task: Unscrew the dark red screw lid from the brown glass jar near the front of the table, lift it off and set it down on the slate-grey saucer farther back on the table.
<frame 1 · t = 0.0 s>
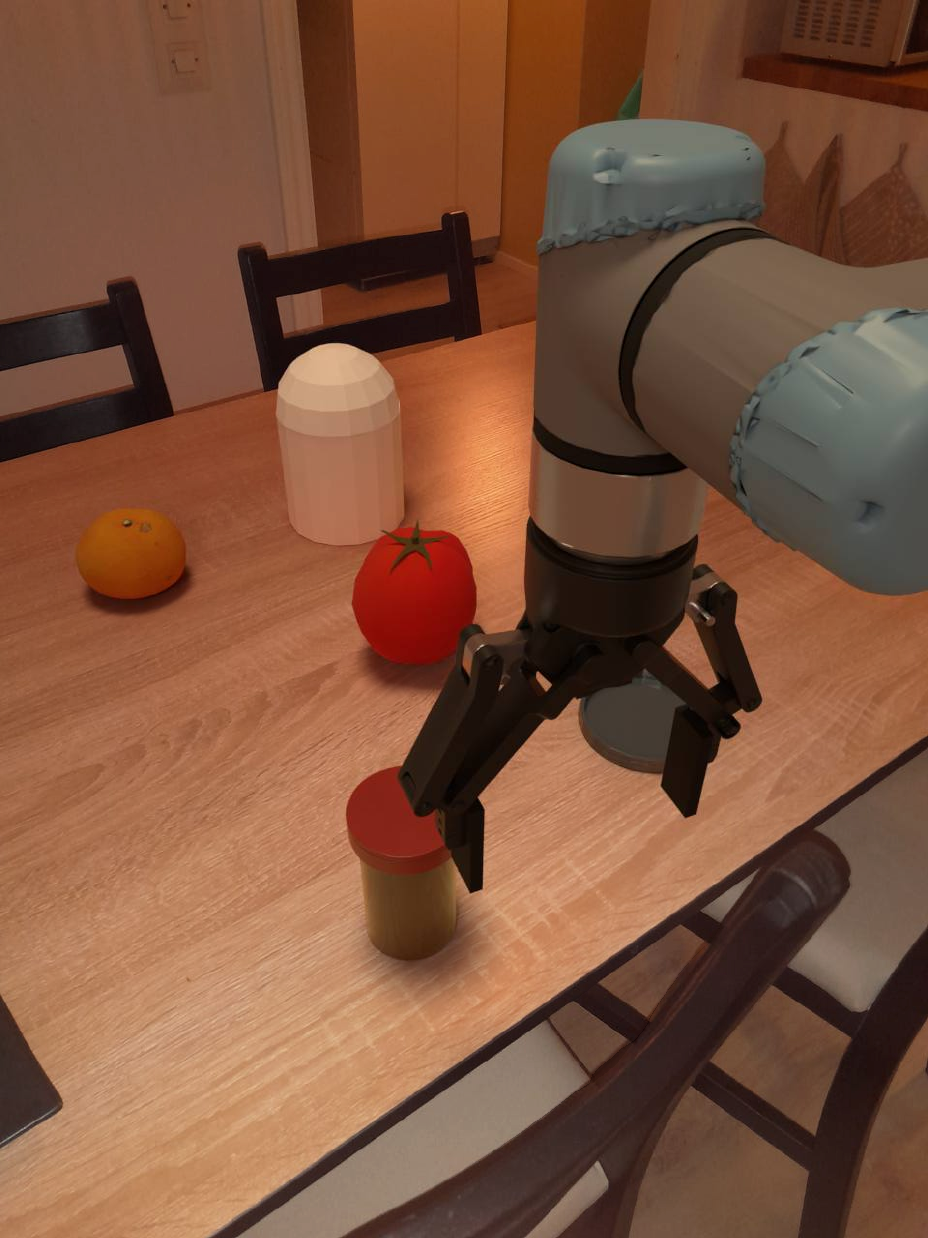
hand: (576, 835, 55), 16 cm above the table, tool pointing down, fingers open, 13 cm apart
saucer: (646, 722, 85), on the table
fruit: (140, 585, 101), on the table
jar: (411, 921, 69), on the table
lid: (405, 813, 62), point 12 cm above the table, screwed on, not yet turned
tomato: (418, 651, 93), on the table
container: (347, 515, 112), on the table
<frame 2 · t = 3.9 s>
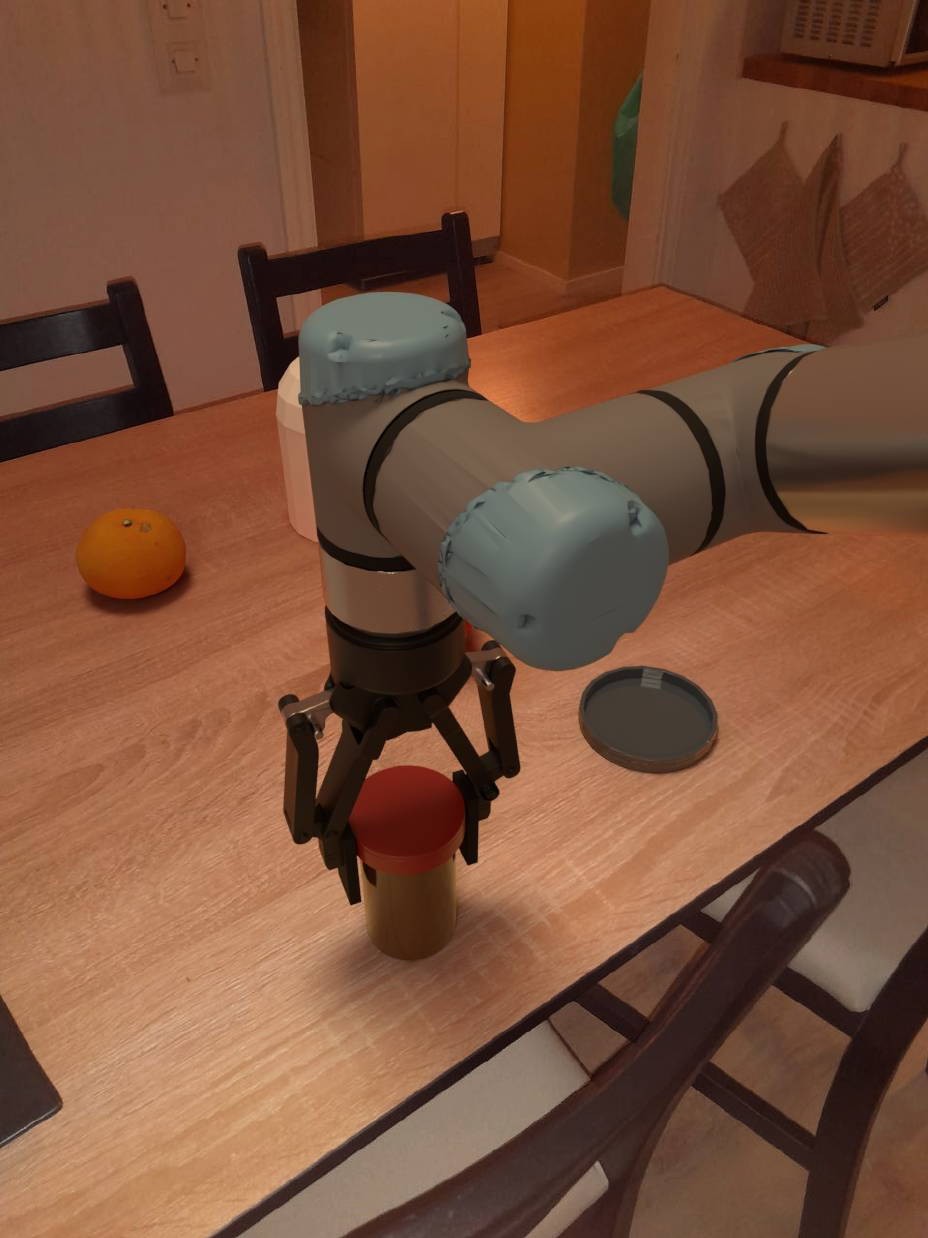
hand: (408, 868, 65), 6 cm above the table, tool pointing down, fingers closed on lid, 8 cm apart
lid: (405, 813, 62), point 12 cm above the table, screwed on, not yet turned, touching gripper
everything else where it was.
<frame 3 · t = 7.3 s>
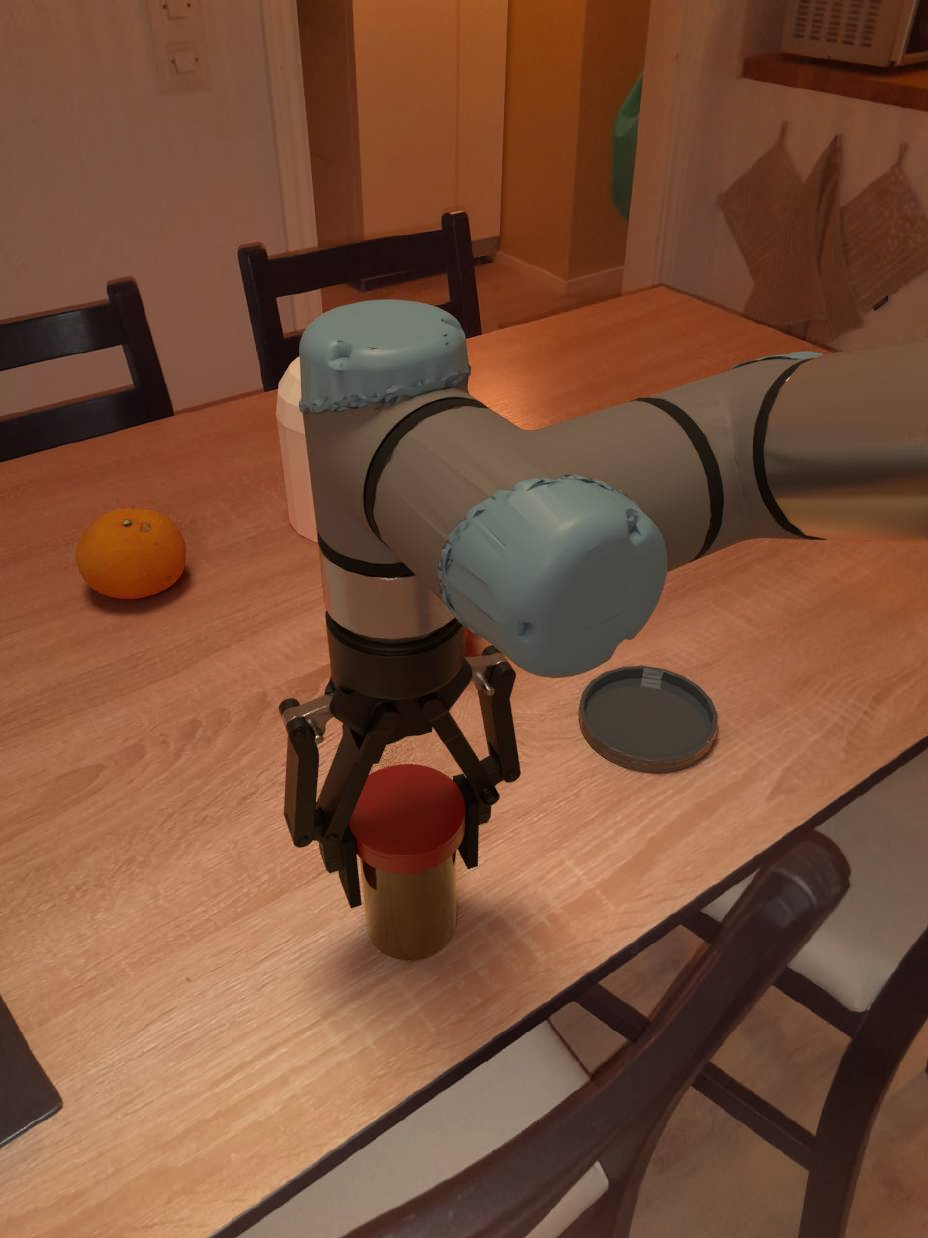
hand: (408, 871, 65), 6 cm above the table, tool pointing down, fingers closed on lid, 8 cm apart
lid: (405, 811, 62), point 12 cm above the table, turned 95° so far, risen 0.1 cm, still on its thread, touching gripper
everything else where it was.
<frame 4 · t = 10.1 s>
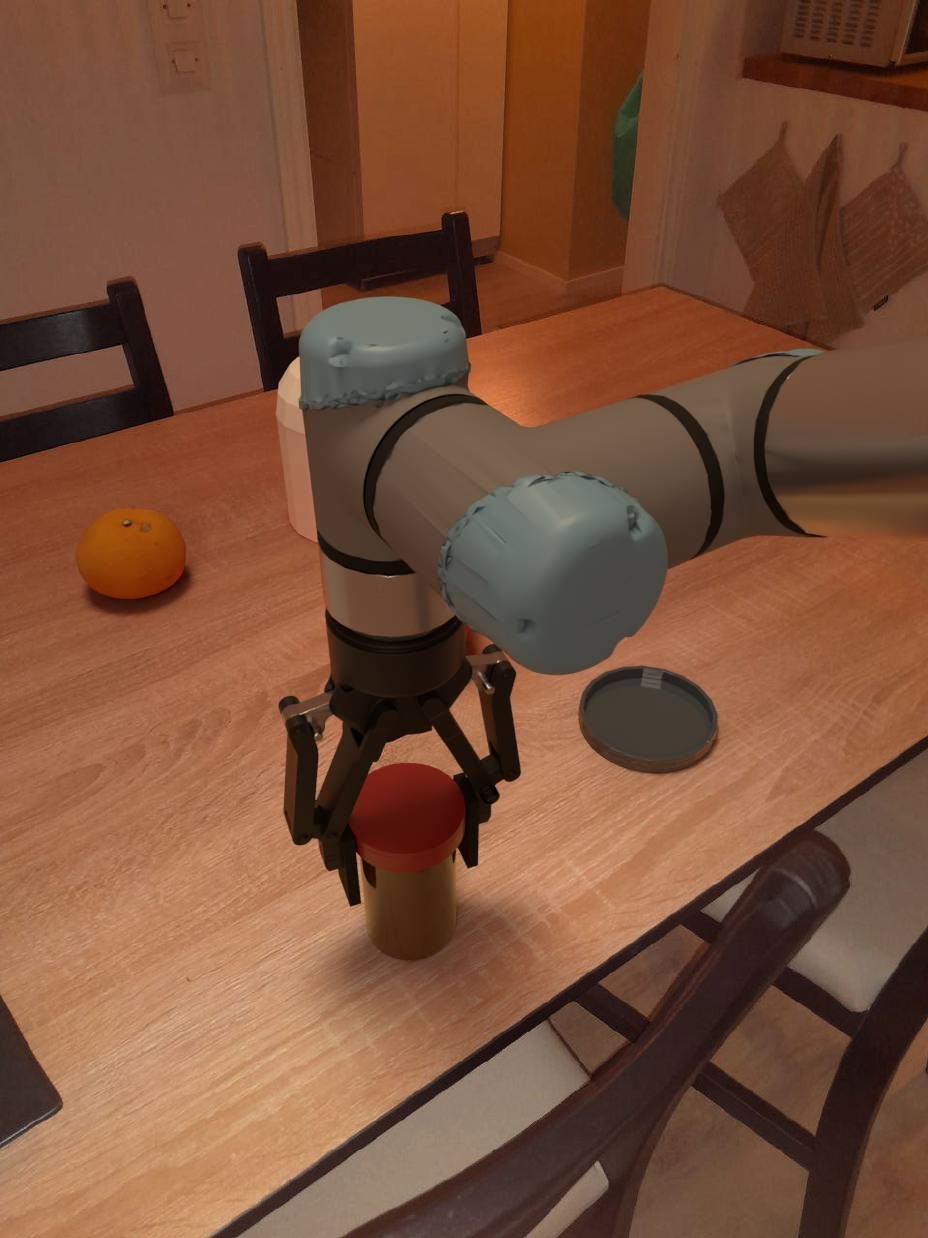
hand: (408, 870, 65), 6 cm above the table, tool pointing down, fingers closed on lid, 8 cm apart
lid: (405, 810, 62), point 12 cm above the table, turned 190° so far, risen 0.3 cm, still on its thread, touching gripper
everything else where it was.
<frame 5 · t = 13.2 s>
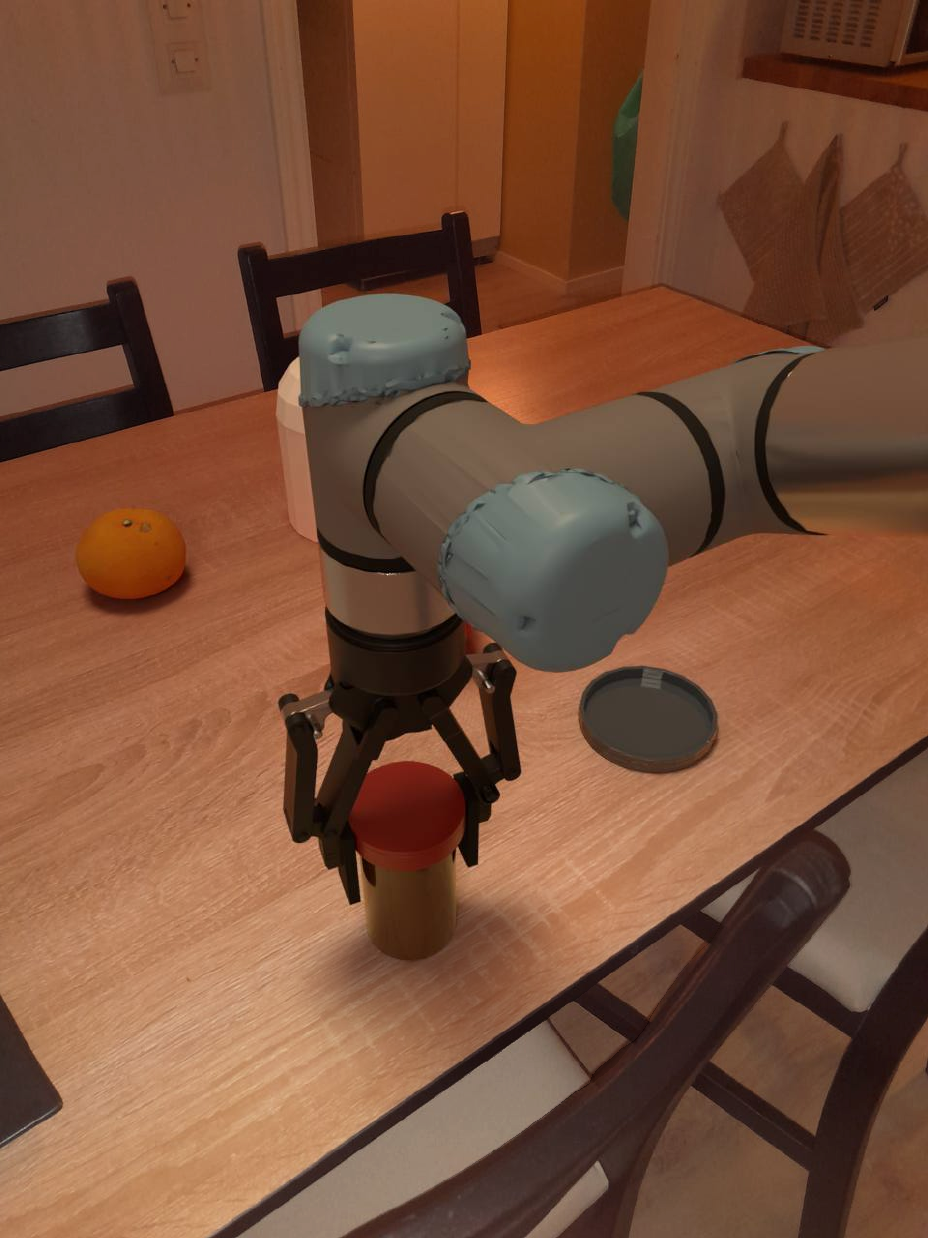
hand: (408, 868, 65), 6 cm above the table, tool pointing down, fingers closed on lid, 8 cm apart
lid: (405, 809, 62), point 12 cm above the table, turned 285° so far, risen 0.4 cm, still on its thread, touching gripper
everything else where it was.
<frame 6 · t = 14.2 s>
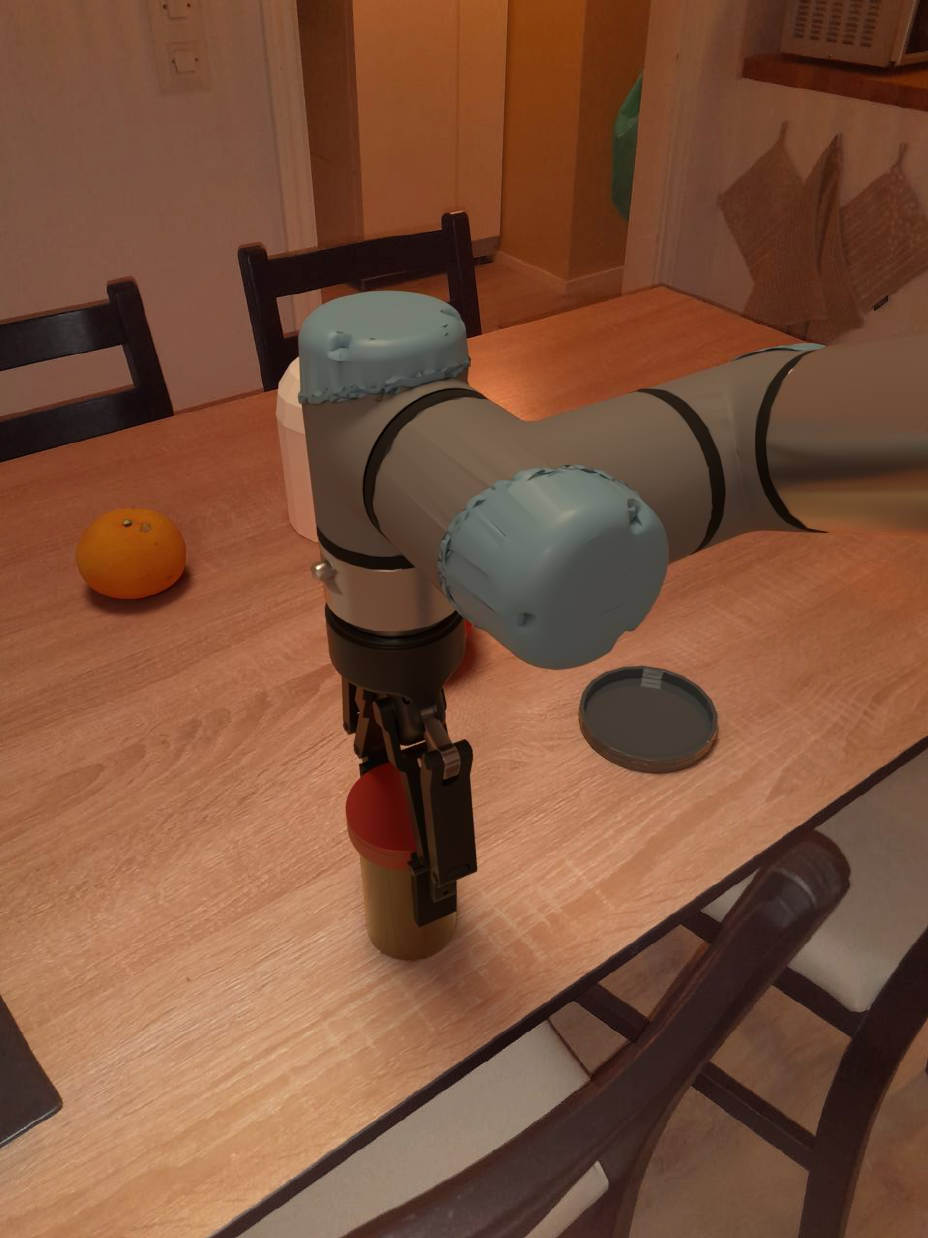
hand: (408, 868, 65), 6 cm above the table, tool pointing down, fingers closed on lid, 8 cm apart
lid: (405, 807, 61), point 12 cm above the table, off its thread, touching gripper
everything else where it was.
when the fingers open (2 cm above the table, at t = 22.7 s): lid drops 6 cm, resting on saucer.
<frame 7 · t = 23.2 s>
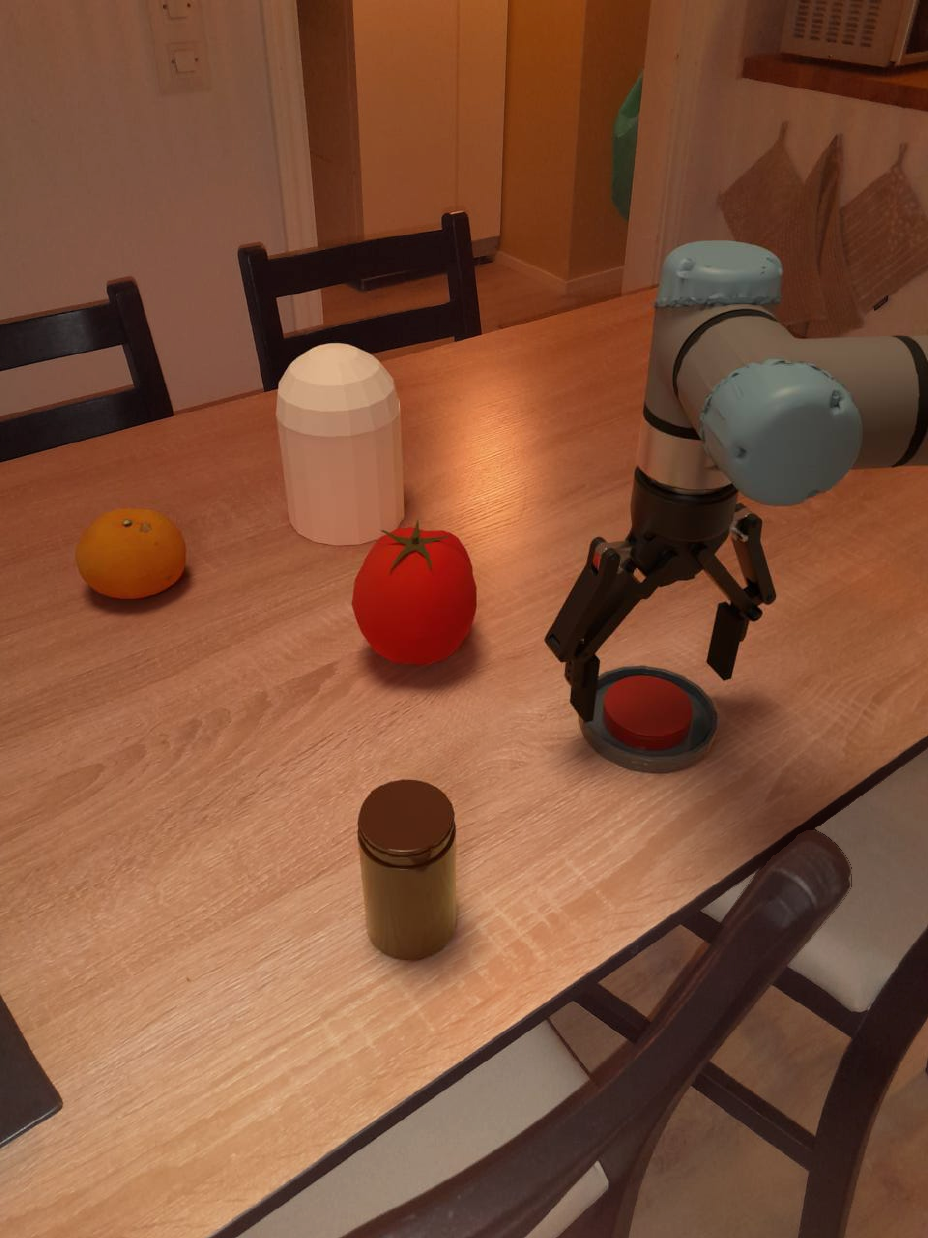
hand: (651, 690, 82), 4 cm above the table, tool pointing down, fingers open, 13 cm apart
lid: (647, 707, 84), point 2 cm above the table, off its thread, touching saucer
everything else where it was.
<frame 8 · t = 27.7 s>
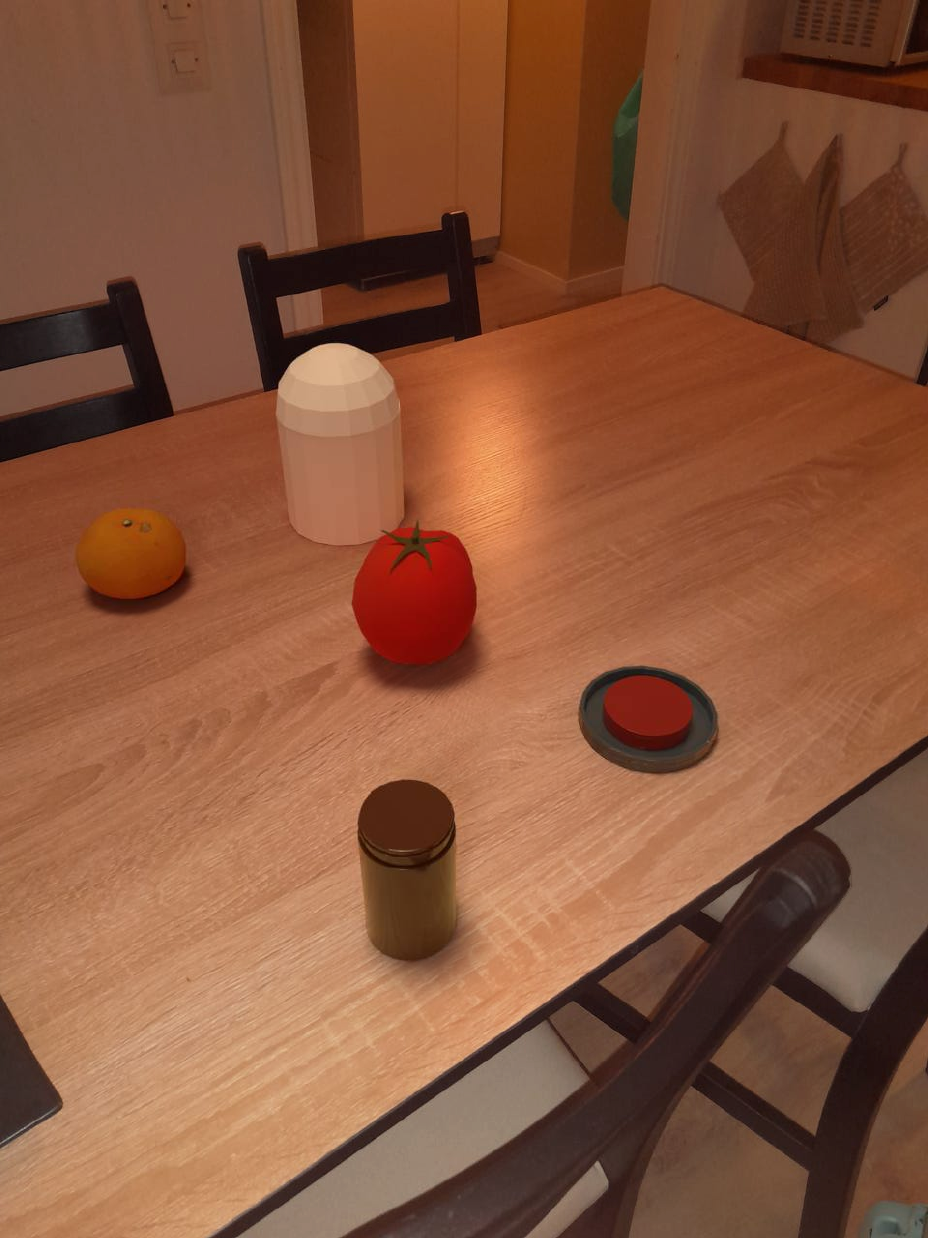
nothing on the table moved.
at the end: the gripper is holding nothing; lid 0.1 cm from the saucer (horizontally); lid point 1.8 cm above the table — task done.
